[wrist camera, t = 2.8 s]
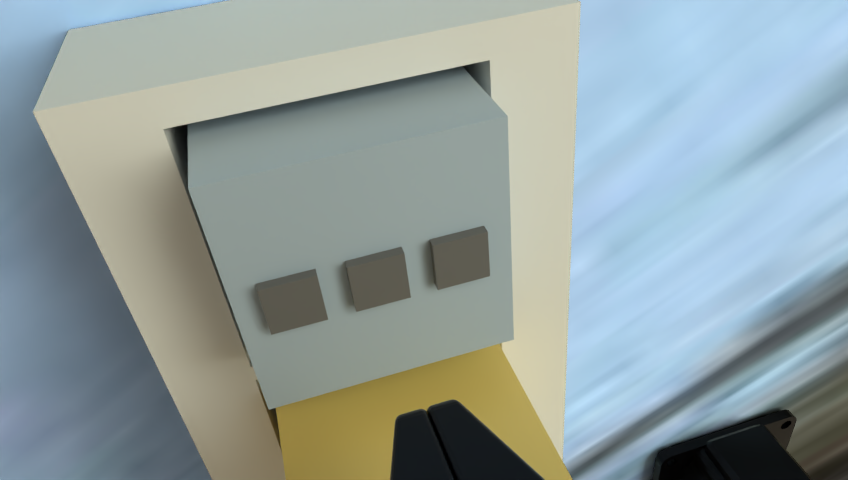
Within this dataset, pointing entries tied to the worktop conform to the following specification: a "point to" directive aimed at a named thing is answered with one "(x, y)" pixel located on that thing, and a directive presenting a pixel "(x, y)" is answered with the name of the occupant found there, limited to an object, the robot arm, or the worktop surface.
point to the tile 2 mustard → (401, 393)
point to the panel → (278, 84)
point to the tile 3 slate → (359, 229)
